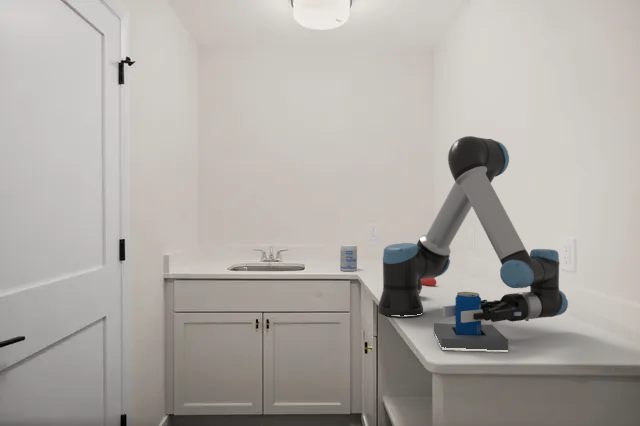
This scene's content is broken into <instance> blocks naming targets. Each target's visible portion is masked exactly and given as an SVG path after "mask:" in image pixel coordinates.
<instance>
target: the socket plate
mask: <svg viewBox="0 0 640 426" xmlns="http://www.w3.org/2000/svg"><path fill="white" fill-rule="evenodd" d="M434 332H435V334H436V336H437V338H438V340H439V343H440V345H441V347H444V348H445V347H446V348H466V349H487V350H508V351H509V339H508V338H506V336H504V335H503V333H501V332H500V331H499V330H498V329H497V328H496V327H495V326H494V325H493V324H488V323H487V324H482V323H481V335H456V323H440V322H438V323H437V322H435V323H433V333H434Z"/></svg>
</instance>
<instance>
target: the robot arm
mask: <svg viewBox="0 0 640 426" xmlns="http://www.w3.org/2000/svg"><path fill="white" fill-rule="evenodd" d="M447 154H448V155H447V162H448V168H449V171H450V173H451V175H452V177H453V180H454V183H453V185H452V187H451V189H450V191H449V192H448V194H447V197H446V198H445V200H444V202H443V204H442V206H441V208H440V209H439V211H438V213H437V215H436V217H435V219H434V220H433V222H432V224H431V226H430V228H429V230H428V232H427V233H426V234H423V235H421V236H420V237H419V239H418V240H417V242H416V243H412V242H401V243H394V244H390V245H387V246H385V248H383V256H382V275H383V276H382V277H383V279H382V280H383V288H382V293H381V296H380V299H379V302H378V306H377V309H378V310H377V311H378V313H379V314H380V315H381V316H385V317H391V315H400V316H404V315H417V314H421V313H423V314H424V306H423V302H422V300H421V297H420V294H419V293H418V280H419V279H427V278H437V277H440V276H442V275H444V274H445V273H446V272H447V271H448V269H449V267H450V263H451V260H450V254H451V252H452V251H451V248H450V246H451V244H452V242H453V240H454V238H455V236H456V235H457V233H458V232H459V230H460V228H461V226H462V224H463V222H464V221H465V219H466V217H467V216H468V214H469V212H470V210H471V209H473V210H474V213H475V215H476V216H477V218H478V220H479V223H480V225H481V226H482V228H483V231H484V232H485V234H486V236H487V238H488V240H489V242H490V244H491V246H492V248H493V250H494V252H495V254H496V256H497V257H498V260H499V262H500V264H501V267H500V270H499V272H500V273H499V274H500V275H499V276H500V280H501V281H502V283H503V284H505V285H506V287H509V288H511V289H523V288H525V289H526V288H528V287H529V290H530V291H525V292H517V293H507V294H504V295H503V296H502V297H501V299H500V300H496V299H495V300H493V301H489V300H488V299H481V309H479V310H470V311H462V312H461V322H462V323H465V322H473V321H481V322H482V321H483V320H484V321H491V322H492V323H497V322H502V321H508V322H519V321H520V322H521V321H524V322H529V321H530V320H533V319H542V318H552V317H556V316H561V315H562V314H564V313H565V312H566V311H567V309H568V307H569V303H568V302H569V301H568V299H567V297H566V294H565V293H564V292H563V291H562V290H560V264H561V263H560V259H559V252H558V251H557V250H555V249H551V248H549V249H547V248H536V249H535V248H534V249H531V250H530V252H529V253H528V250H527V249H526V247H525V244H524V243H523V242H522V239H521V238H520V235H519V234H518V232H517V230H516V228H515V226H514V224H513V222H512V221H511V219H510V217H509V215H508V213H507V211H506V210H505V208H504V205H503V203H502V202H501V200H500V198H499V196H498V195H497V193H496V191H495V188H494V187H493V185H492V182H493V180H494V178H496V177H498V176H500V175H502V174H503V173H504V172H505V171H506V170H507V169H508V166H509V163H510V155H509V151H508V149H507V148H506V146H505V145H504V144H503V143H502V142H500V141H497V140H495V139H492V138H483V137H479V136H478V137H477V136H471V135H470V136H469V135H468V136H464V137H460V138H459V139H457V140H455V142H454V143H453V144H452V145H451V146H450V149H449V150H448V153H447ZM442 313H443V314H442V316H443V317H444V318H447V317H454V316H455V317H456V304H452V305H445V306H444V305H443V306H442Z"/></svg>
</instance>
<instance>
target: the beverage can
mask: <svg viewBox="0 0 640 426" xmlns="http://www.w3.org/2000/svg"><path fill="white" fill-rule="evenodd" d="M481 300H482V298H481V297H480V293H478V292H474V291H459V292H457V293H456V296H455V305H456V316H455V324H456V335H481V324H482V320H481V321H473V322H465V323H462V322H461V312H462V311H470V310H479V309H481Z"/></svg>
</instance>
